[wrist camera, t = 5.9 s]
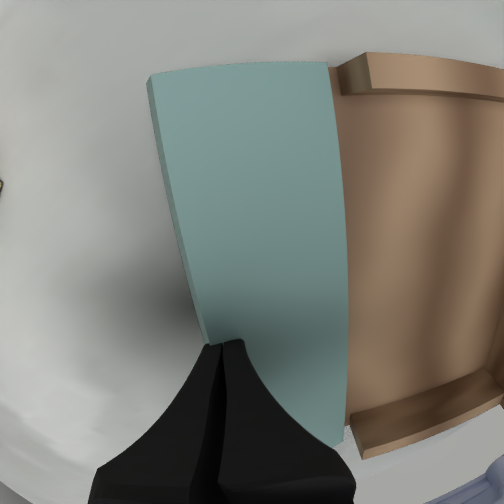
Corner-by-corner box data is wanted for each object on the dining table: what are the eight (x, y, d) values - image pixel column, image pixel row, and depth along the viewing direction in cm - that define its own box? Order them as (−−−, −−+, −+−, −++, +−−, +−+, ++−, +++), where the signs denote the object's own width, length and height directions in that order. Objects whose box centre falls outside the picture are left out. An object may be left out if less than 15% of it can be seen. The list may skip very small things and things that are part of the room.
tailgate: (327, 62, 10) (150, 74, 8) (342, 441, 17) (256, 485, 15) (307, 68, 11) (146, 83, 9) (332, 429, 18) (247, 471, 16)
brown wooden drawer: (509, 86, 12) (593, 90, 6) (481, 362, 20) (524, 414, 14) (303, 74, 12) (360, 35, 6) (329, 412, 20) (354, 490, 14)
